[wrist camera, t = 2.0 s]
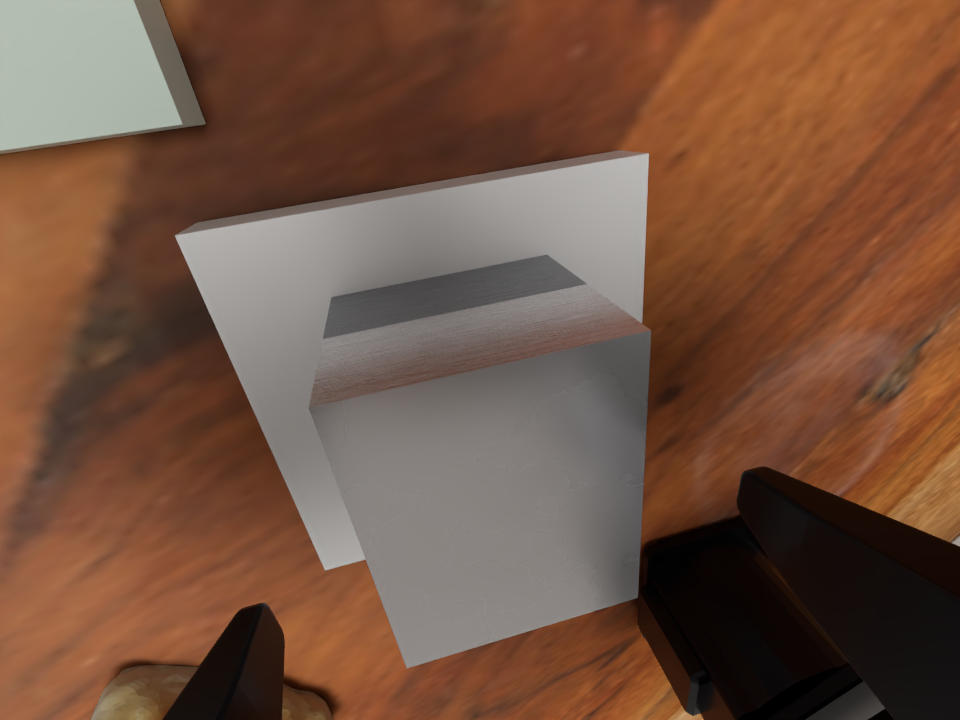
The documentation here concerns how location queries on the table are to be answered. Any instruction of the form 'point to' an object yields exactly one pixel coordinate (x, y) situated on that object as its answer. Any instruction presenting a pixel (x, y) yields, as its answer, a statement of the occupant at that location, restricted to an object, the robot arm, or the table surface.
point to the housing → (487, 449)
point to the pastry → (153, 689)
